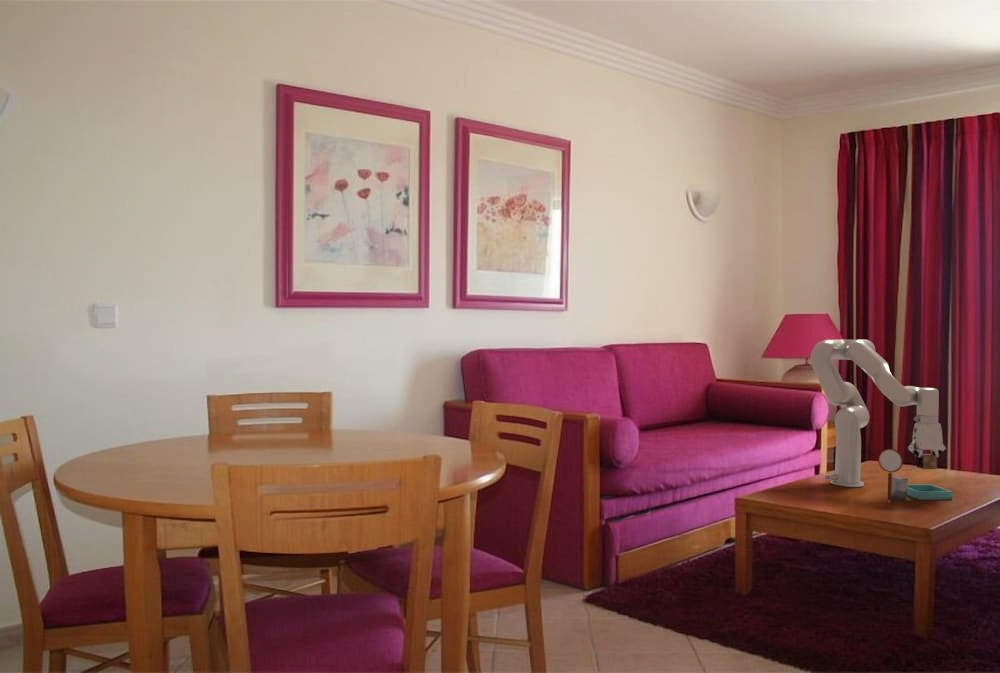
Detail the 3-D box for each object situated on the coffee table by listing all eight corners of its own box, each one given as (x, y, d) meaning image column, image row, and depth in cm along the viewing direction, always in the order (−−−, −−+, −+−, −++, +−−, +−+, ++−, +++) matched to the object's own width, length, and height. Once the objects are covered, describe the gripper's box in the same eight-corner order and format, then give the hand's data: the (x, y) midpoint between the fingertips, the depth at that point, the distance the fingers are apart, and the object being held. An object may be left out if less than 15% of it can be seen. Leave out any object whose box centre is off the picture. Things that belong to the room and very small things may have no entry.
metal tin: (895, 501, 332) (895, 479, 331) (886, 497, 338) (887, 476, 337) (910, 501, 332) (911, 479, 332) (901, 497, 338) (902, 476, 338)
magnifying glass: (902, 504, 326) (903, 450, 325) (900, 505, 325) (902, 450, 324) (877, 500, 332) (879, 447, 331) (876, 501, 330) (877, 447, 330)
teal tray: (917, 499, 335) (918, 491, 335) (898, 492, 348) (898, 484, 348) (952, 499, 336) (952, 491, 336) (931, 492, 350) (931, 484, 349)
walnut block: (924, 469, 339) (924, 456, 339) (916, 467, 344) (916, 454, 344) (936, 469, 339) (936, 456, 339) (928, 466, 344) (929, 454, 344)
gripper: (911, 421, 337) (910, 469, 337) (954, 421, 338) (953, 468, 339) (900, 418, 344) (900, 465, 345) (942, 418, 346) (941, 465, 346)
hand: (926, 466), depth 342 cm, fingers closed on walnut block, 5 cm apart
